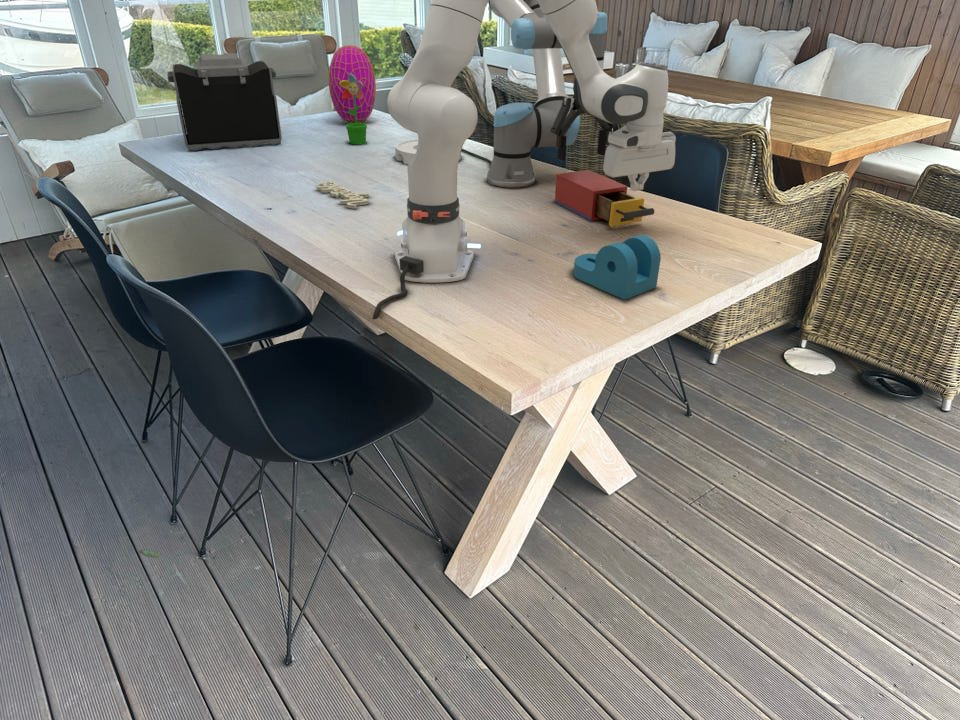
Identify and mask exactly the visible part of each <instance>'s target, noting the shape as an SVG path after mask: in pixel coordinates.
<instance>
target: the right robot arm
mask: <svg viewBox="0 0 960 720" xmlns="http://www.w3.org/2000/svg"><path fill="white" fill-rule="evenodd" d="M487 5H488V6H489V9H490V10H491V12H492V13H493V14H494V15H495V16H496V17H498V18H501V19H502V20H503V21H504V22H505V23H506V24H507V26H508V27H509V28H510V40H511V45H512V47H513V48H515V49H519V50H521V49H522V50H532V58H533V64H534V74H535V82H536V90H537V91H536V92H537V100H536V102H535V103H534V105H533V104H532V103H531V102H512V103H507V104H504V105H501V106H499V107H498V108H496V110H495V112H494V118H493V124H492V125H493V157H492V160H490V159H489V158H487V157H484V156H481V155H479V154H477V153H474V152H471V151H469V150H467V149H464V148H462V150H461V152H464V153H466V154H468V155H472V156H473V157H476V158H478V159H480V160H484V161H486V162H488V163H489V165H490V167H489V170H488V171H487V177H486V178H487V179H486V181H487V183H488V184H490V185H491V186H495V187H498V188H499V187H500V188H505V189H506V188H508V189H517V188H519V189H521V188H526V187H530V186H533V185H534V184H535V183H536V174H535V172H534V167H533V162H532V159H531V153H532V151H531V150H532V148H553V147H555V148H557V160H560V161H563V162H564V161H566V150H567V147H568V146H571V145H573V144H574V143H575V141H576V140H577V139H578V136H579V135H578V134H579V132H580V128H581V115H586V113H585V112H584V111H583V110H582V108H581V107H580V104H579V101H578V90H577V83H576V79H575V77H574V78H573V83H572V84H573V85H572V91H573V95H572V97H570V96H568V95H567V93H566V86H565V77H564V68H563V60H562V52H561V49H562V46H561V44H560V42H559V40H558V39H557V37H556V35H555V33H554V32H553V30H552V29H551V27H550V25H549V23H548V21H547V20H546V18H545V16H544V14H543V12H542V9H541V7H540V5H539V3H538V0H489V2H488V4H487ZM608 28H609V27H608V15H607V13H606V12H603V11H598V17H597V20H596V23H595V25H594V27H593V29H592V30H591V31H590V32H589V41H590V44H591V46H592V49H593V51H594V54H595V56H596V59H597V61H598V64H599V66H600V68H601V69H602V70H603V71H604V64H605V52H606V51H605V50H606V42H607V33H608ZM594 118H595V119H596V121H597V124H599V126H600V128H601V129H598V130H599V131H598V133H599V134H598V142H597V155H600V156H605V152H606V149H607V143H609V142H608V136H609V134H610V133H612V132H613V129H615V128H616V127H617V124H612V123H609V122H606V121H604V120H602V119H599V118H597V117H594Z"/></svg>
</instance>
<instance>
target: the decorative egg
mask: <svg viewBox="0 0 960 720" xmlns="http://www.w3.org/2000/svg"><path fill="white" fill-rule="evenodd" d="M348 73H350V74H352V75H354V76H355V78H356V83H357V82H358V81H361V82H362V84H363V89H361V90H360V91H361V92H362V93H363V98H362V100H359V99H358V98H357V97H356V95H355V103H356V106H359V109H358V110H356V116H357V123H364V122H365V121H366V120H368V118H369V117H370V116H371V114H372V112H373V111H374V106H375V103H376V102H375V101H376V96H377V95H376V94H377V83H376V82H377V81H376V75H375V71H374V68H373V63H372V62H371V60H370V57H369V56H368V54H367V53H366V51H365V50H363V48H361V47H359V46H357V45H353V44H352V45H351V44H348V45H343V46H340V47H338V48H337V49H336V51H334V53H333V56H332V57H331V61H330V63H329V69H328V90H329V96H330V99H331V103H332V105H333V108H334V110H335V111H336V113H337V114H338V116H339V118H341V119H342V120H343V121H344V122H346V123H348V124H349V123H355V115H351V114H349V112H348V111H349V110H354V100H353V95H352V96H351V97H350V98H348V99H341V97H342V94H343V93H344V91H345V90H347V89H346V88H343V87H342V86H341V85H340V84H339V83H340V82H341V81H342V80H346V81H349V78H348Z"/></svg>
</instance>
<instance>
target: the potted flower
mask: <svg viewBox="0 0 960 720" xmlns="http://www.w3.org/2000/svg"><path fill="white" fill-rule="evenodd" d="M348 78H349V81H346V80H342V81H341V82H340V83H339V84H340V85H341V86H342V87H343V88H346V89H347V90H345V91H344V93H343V94H342V97H341V99H348V98H350V97H351V96H352V95H353V100H354V110H349V111H348V112H349V114H351V115H355V123H349V122H348V123H347V124H346V125H345V128H346V131H347V136H348V141H349V144H352V145H363V144H366V143H367V129H368V124H367V123H366V122H365V123H364V122H361V123H357V116H356V110H358V109H359V106H356V103H355V95H356V97H357V98H358V99H359V100H362V98H363V93H362V92H361V91H360V90H361V89H363V84H362V82H361V81H358V82H357V83H356V78H355V76H354V75H352V74H350V73H348Z"/></svg>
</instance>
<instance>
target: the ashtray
mask: <svg viewBox="0 0 960 720" xmlns="http://www.w3.org/2000/svg"><path fill="white" fill-rule="evenodd" d="M417 146H418V138H416V139H415V138H414V139H408V140H404V141H399V142H398V143H396V144H395V146H394V150H395V151H394V152H395V153H394V154H395V160H396V161H397V162H403V164H404V165H408V164H409V162H410V161H411V159H412V158H414V157H415V154H416V151H417ZM461 158H462V152H461V153H460V156H459V161H460V160H462V159H461Z"/></svg>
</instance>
